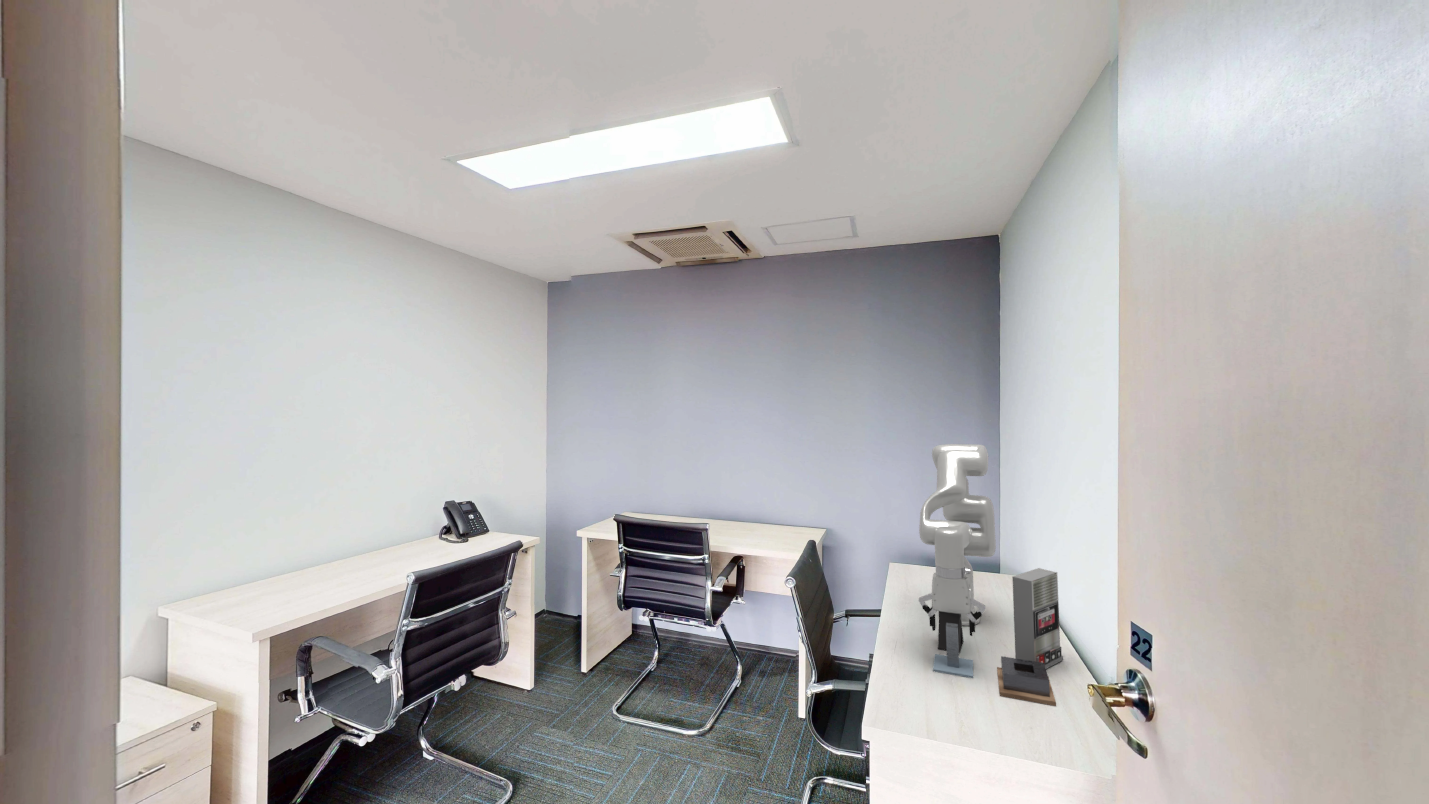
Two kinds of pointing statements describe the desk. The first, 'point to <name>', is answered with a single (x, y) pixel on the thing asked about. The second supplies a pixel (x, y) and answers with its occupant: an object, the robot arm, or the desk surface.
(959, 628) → the phone stand
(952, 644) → the key peg
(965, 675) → the mat
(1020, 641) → the cassette tape recorder
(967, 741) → the desk surface
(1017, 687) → the block
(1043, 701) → the stand
